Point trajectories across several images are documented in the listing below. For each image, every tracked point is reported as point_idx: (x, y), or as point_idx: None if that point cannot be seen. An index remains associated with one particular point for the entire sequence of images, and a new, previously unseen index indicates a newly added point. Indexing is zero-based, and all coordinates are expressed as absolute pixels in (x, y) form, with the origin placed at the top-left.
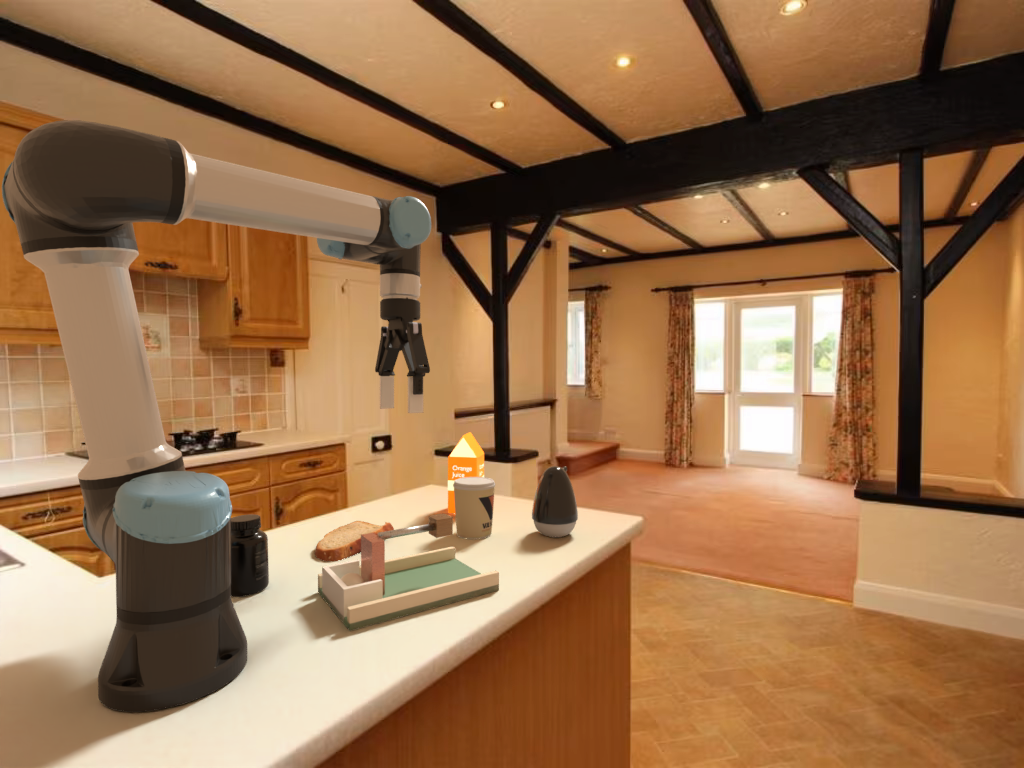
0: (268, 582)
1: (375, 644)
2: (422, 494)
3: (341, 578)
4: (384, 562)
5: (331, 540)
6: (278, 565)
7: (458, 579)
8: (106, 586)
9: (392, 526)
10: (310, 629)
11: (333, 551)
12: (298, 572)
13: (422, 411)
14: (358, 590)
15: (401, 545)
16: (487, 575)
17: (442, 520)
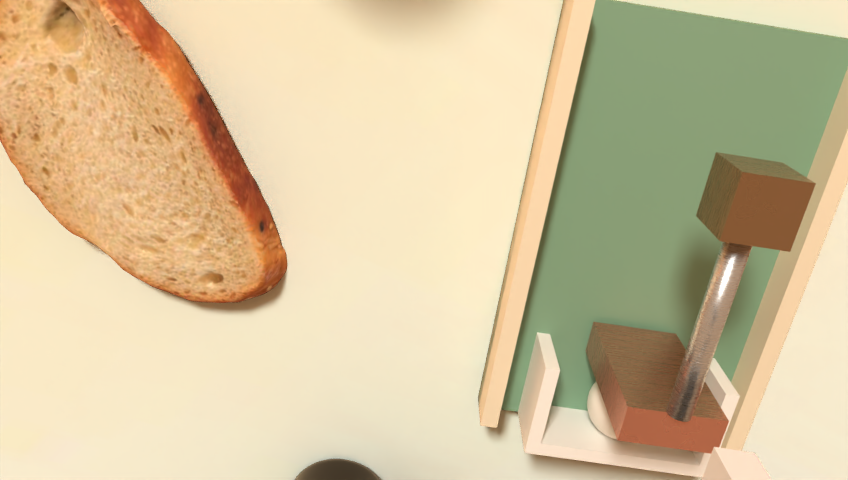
0: (358, 466)
1: (810, 422)
2: None
3: (615, 438)
4: (705, 382)
5: (140, 237)
6: (216, 394)
7: (742, 114)
8: None
9: None
10: (647, 476)
11: (265, 284)
12: (307, 378)
13: (758, 469)
14: None
15: (273, 27)
16: None
17: (796, 225)
